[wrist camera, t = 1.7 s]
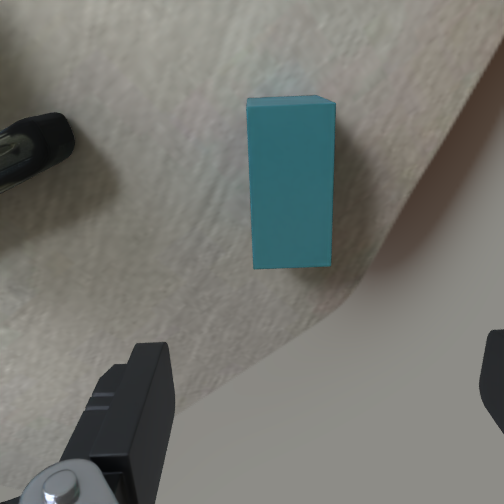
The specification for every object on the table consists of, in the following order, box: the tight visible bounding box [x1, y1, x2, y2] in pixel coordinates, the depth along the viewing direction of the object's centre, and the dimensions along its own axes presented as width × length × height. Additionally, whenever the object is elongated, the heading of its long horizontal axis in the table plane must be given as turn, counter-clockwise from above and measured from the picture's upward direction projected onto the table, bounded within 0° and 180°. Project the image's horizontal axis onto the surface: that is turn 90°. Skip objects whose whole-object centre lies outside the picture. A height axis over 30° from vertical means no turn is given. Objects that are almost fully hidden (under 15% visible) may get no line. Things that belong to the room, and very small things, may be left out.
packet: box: [246, 95, 336, 269], centre depth 24 cm, size 4×8×6 cm, turn 2°
